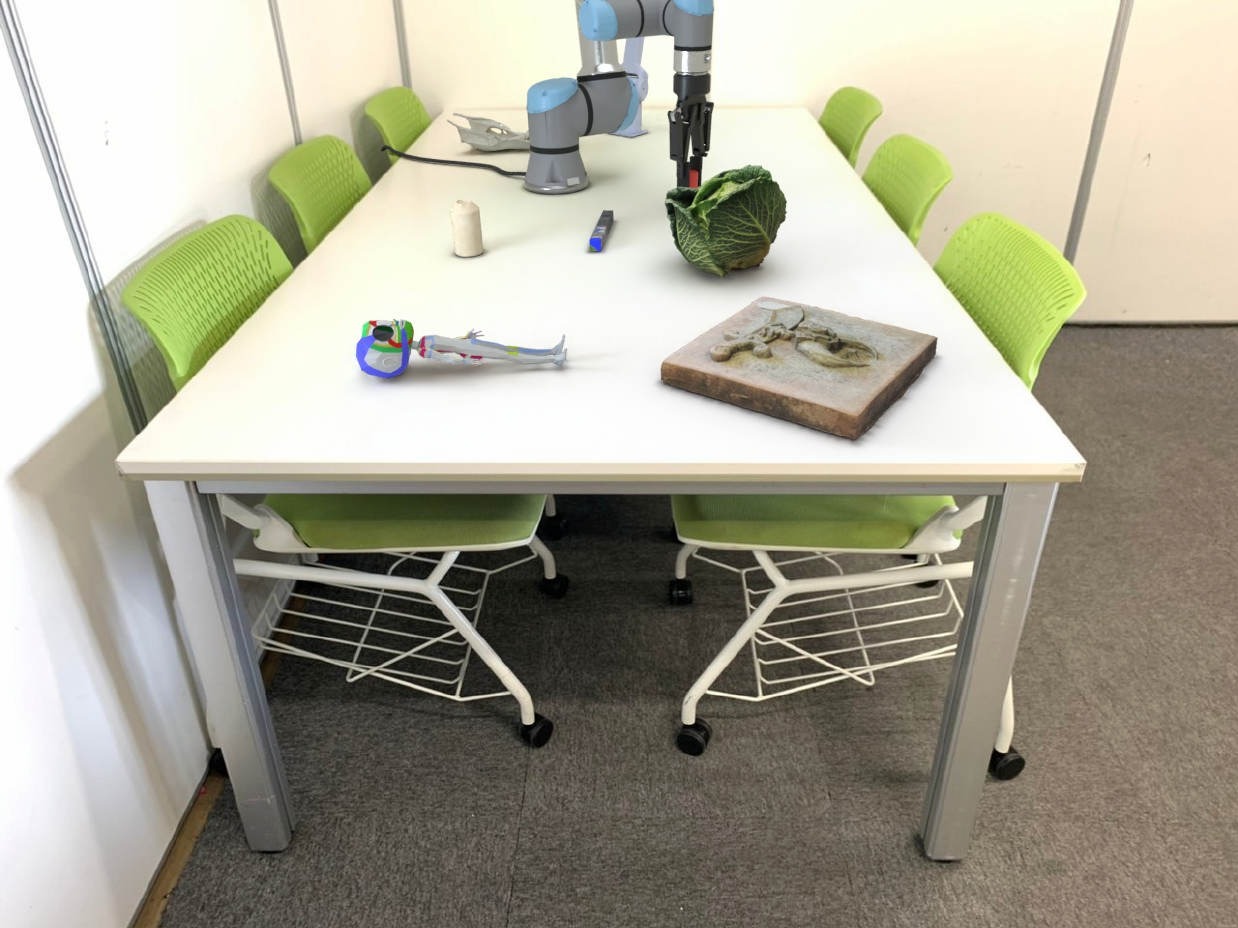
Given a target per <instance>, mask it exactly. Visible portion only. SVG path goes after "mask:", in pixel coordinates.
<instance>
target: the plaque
mask: <svg viewBox="0 0 1238 928" xmlns="http://www.w3.org/2000/svg"><path fill="white" fill-rule="evenodd" d="M938 339H939V338H938V337H937V336H935V335H930V334H928V333H924V332H920V331H917V330H912V329H908V328H904V327H900V326H896V325H891V324H888V323H883V322H878V321H875V320H871V319H863V318H861V317H860V316H859V317H858V316H852V315H848V314H846V313H842V312H839V311H834V310H832V309H831V310H830V309H826V308H822V307H819V306H811V305H808V304H805V303H800V302H794V301H791V300H784V299H779V298H776V297H775V298H774V297H771V296H760V297H758V298H757V299H755V300H753V301H751V303H749V304H748V305H747V306H746V307H744V308H742V309H741V310H739V311H738V312H736V313H735V314H733V315H731V316H730V317H729V318H727V319H725V320H723V321H722V322H720V323H718V324H717V325H715V326H713V327H712V328H710V329H708V330H707V331H705V332H703V333H702V334H699V336H697V337H696V338H694V339H693V340H691V341H689V342H688V343H686V344H685V345H684V346H682V347H680V348H679V349H677V350H676V351H674V352H673V353H671V354H670V355H669V356H667V357H666V358H665V359H664V360H663V361H662V362H661V365H660V380H661V382H663V383H665V384H667V385H670V386H672V387H677V388H679V389H682V390H685V391H688V392H691V393H695V394H701V395H703V396H706V397H709V398H713V399H715V400H719V401H722V402H726V403H730V404H733V405H736V406H739V407H741V408H743V409H744V408H745V409H747V410H751V411H756V412H760V413H762V414H766V415H769V416H772V417H775V418H777V419H784V420H786V421H789V422H793V423H796V424H799V425H802V426H806V427H808V428H812V429H815V430H818V431H820V432H821V431H822V432H824V433H828V434H833V435H836V436H839V437H845V438H849V439H851V440H853V441H856V440H857V438H858V437H859V436H860V435H863V434H864V433H866V432H867V431H868V430H869V429H870V428H871V427H872V426H873V425H875V423H876V422H877V421H878V420H879V419H880V417H881V416H882V415H883V414H884V413H885V412H886V411H887V410H888V409H889V407H891V406H892V405H893V404H894V403H895V401H897V400H899V399H900V398H902V397H903V396H904V394H905V393H906V391H907V390H908V389H909V387H910V386H911V385H912V384H913V383H914V382H915V381H916V380H917V379H918V378H919V377H920V376H921V373H922V372H923V370H924V368H925V367H926V366H927V365H928V364H929V363H930V361H931V360H932V359H933V358H934V357H935V356H936V355H937V345H938Z"/></svg>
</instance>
